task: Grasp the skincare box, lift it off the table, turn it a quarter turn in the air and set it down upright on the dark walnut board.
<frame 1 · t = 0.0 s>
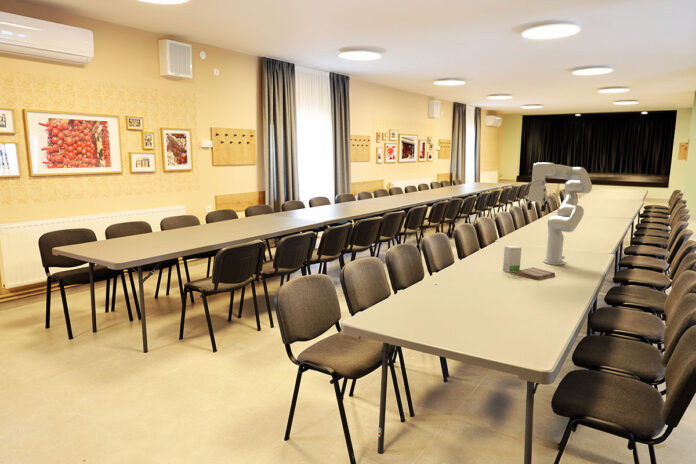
hand: (536, 210, 286), 37 cm above the table, tool pointing down, fingers open, 9 cm apart
skincare box: (511, 271, 283), on the table
walnut board: (534, 275, 274), on the table
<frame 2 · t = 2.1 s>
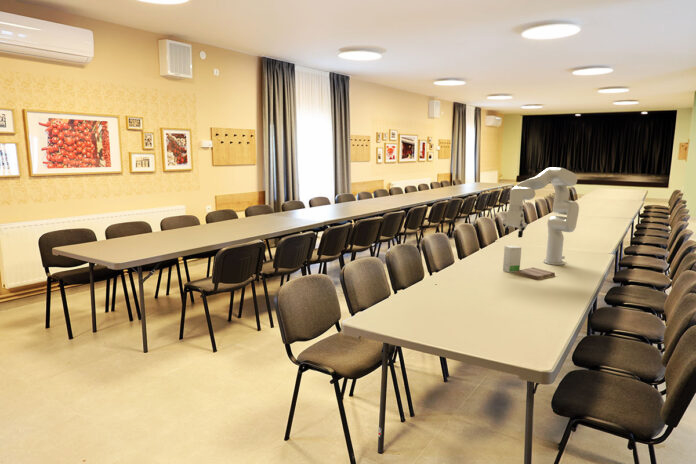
hand: (513, 236, 279), 22 cm above the table, tool pointing down, fingers open, 9 cm apart
nothing on the table moved.
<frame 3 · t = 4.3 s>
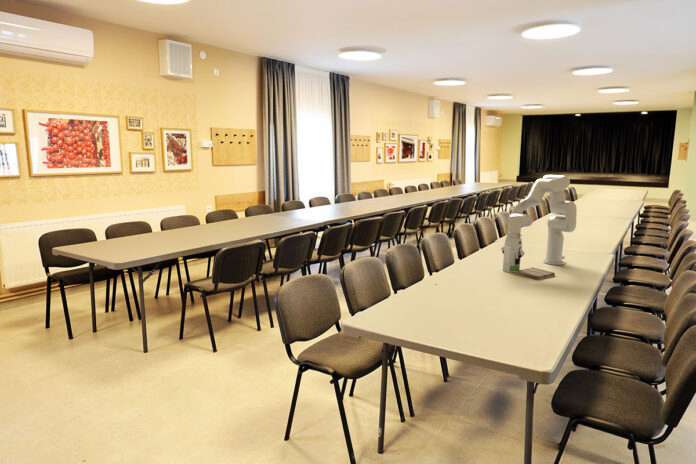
hand: (511, 263, 282), 5 cm above the table, tool pointing down, fingers closed on skincare box, 7 cm apart
skincare box: (510, 271, 283), on the table, touching gripper
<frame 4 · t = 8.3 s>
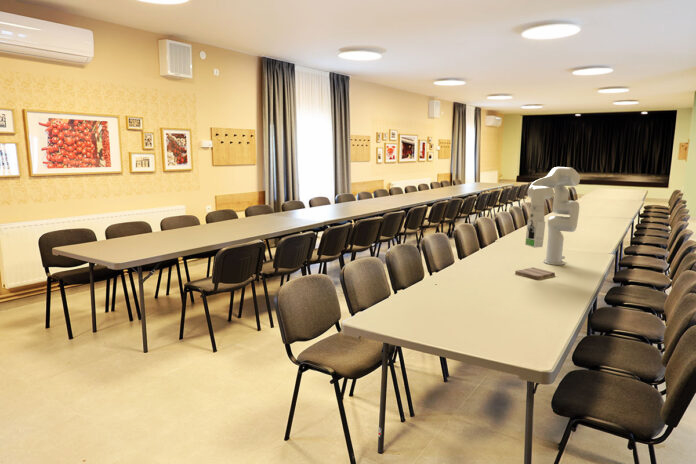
hand: (534, 237, 271), 23 cm above the table, tool pointing down, fingers closed on skincare box, 7 cm apart
skincare box: (534, 246, 272), point 17 cm above the table, touching gripper
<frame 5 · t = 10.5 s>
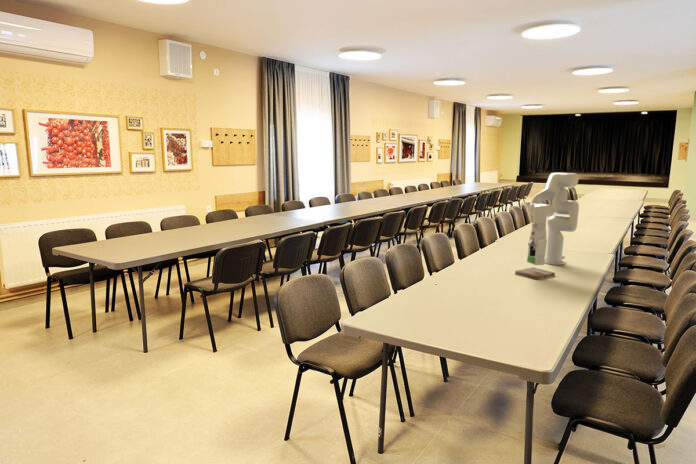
hand: (536, 255, 272), 12 cm above the table, tool pointing down, fingers closed on skincare box, 7 cm apart
skincare box: (535, 263, 273), point 7 cm above the table, touching gripper
when the fingers open (9 cm above the table, at t = 12.2 s): skincare box drops 2 cm, resting on walnut board.
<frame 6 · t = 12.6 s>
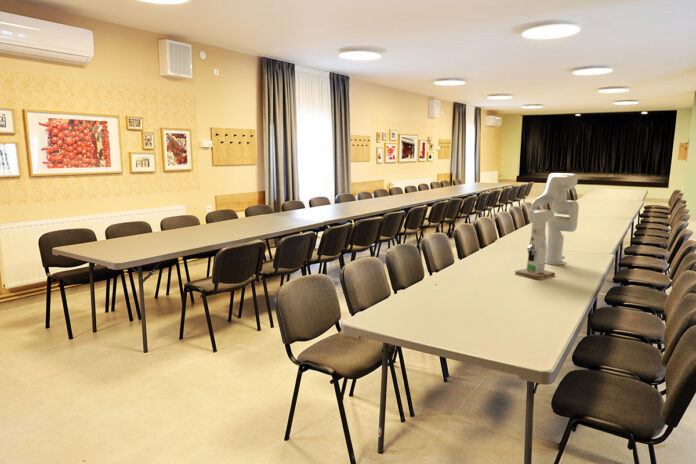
hand: (536, 259, 272), 9 cm above the table, tool pointing down, fingers open, 9 cm apart
skincare box: (535, 271, 274), point 2 cm above the table, touching walnut board
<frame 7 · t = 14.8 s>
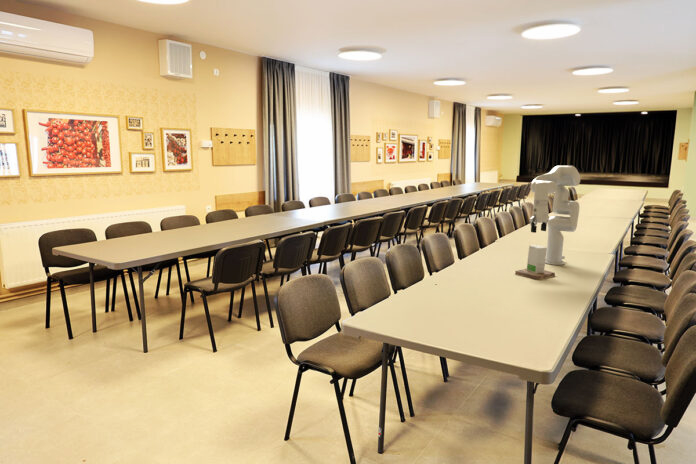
hand: (538, 231, 270), 26 cm above the table, tool pointing down, fingers open, 9 cm apart
nothing on the table moved.
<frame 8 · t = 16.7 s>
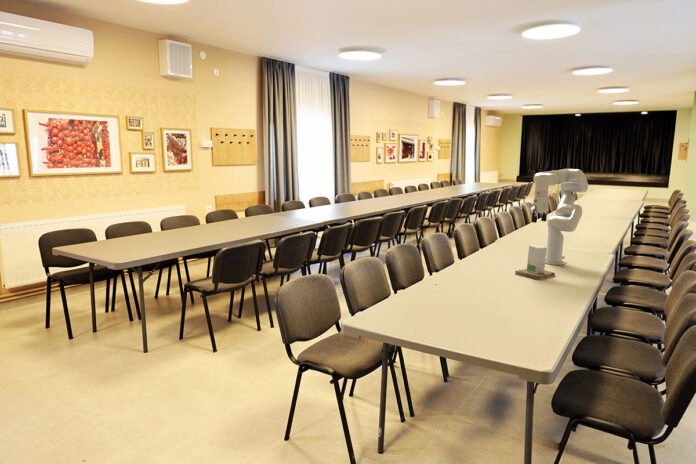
hand: (538, 221, 283), 30 cm above the table, tool pointing down, fingers open, 9 cm apart
nothing on the table moved.
at the end: skincare box inside the target area on the walnut board (0.7 cm from its centre), point 1.8 cm above the walnut board's base; skincare box tilted 0°; the gripper is holding nothing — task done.
